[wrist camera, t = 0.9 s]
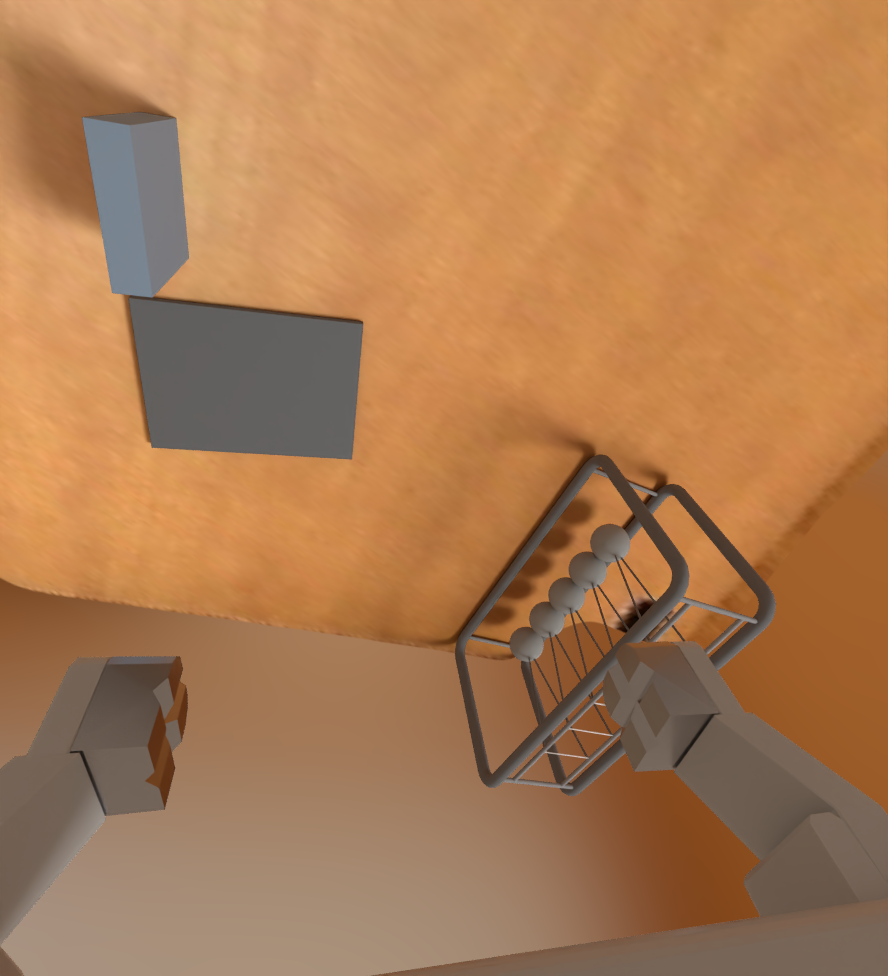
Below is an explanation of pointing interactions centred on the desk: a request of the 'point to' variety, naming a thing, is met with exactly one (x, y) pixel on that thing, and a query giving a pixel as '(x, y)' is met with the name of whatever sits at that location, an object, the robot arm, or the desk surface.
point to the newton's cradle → (570, 597)
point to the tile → (138, 198)
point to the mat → (247, 378)
